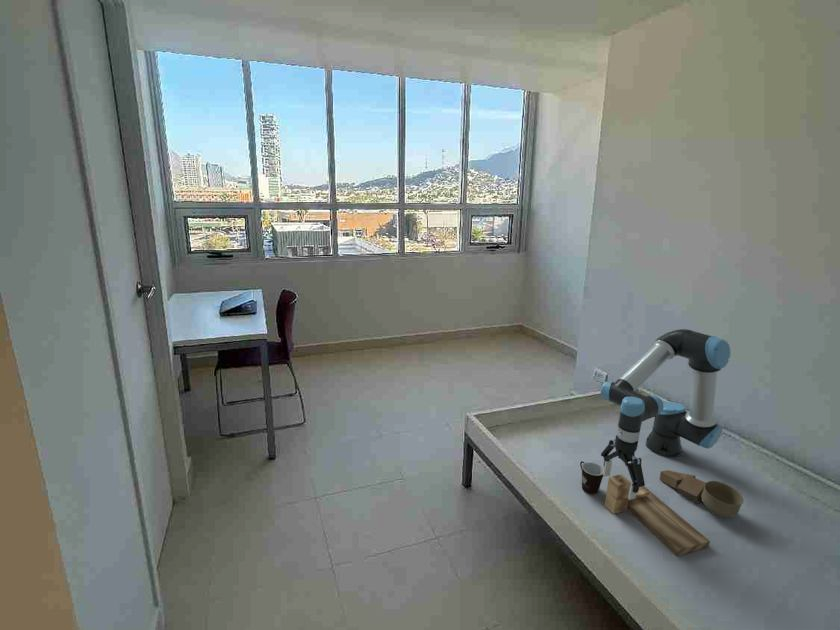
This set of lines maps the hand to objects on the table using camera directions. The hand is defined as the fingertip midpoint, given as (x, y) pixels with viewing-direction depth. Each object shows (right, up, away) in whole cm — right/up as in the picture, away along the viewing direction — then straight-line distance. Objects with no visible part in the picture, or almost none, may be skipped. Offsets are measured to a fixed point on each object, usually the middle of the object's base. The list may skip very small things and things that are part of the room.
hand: (618, 486), depth 166 cm
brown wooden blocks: (+34, -7, +15) cm, 38 cm away
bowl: (+39, -11, +1) cm, 40 cm away
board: (+13, -11, -2) cm, 18 cm away
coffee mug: (-5, -6, +15) cm, 17 cm away
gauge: (+6, -9, +5) cm, 12 cm away
